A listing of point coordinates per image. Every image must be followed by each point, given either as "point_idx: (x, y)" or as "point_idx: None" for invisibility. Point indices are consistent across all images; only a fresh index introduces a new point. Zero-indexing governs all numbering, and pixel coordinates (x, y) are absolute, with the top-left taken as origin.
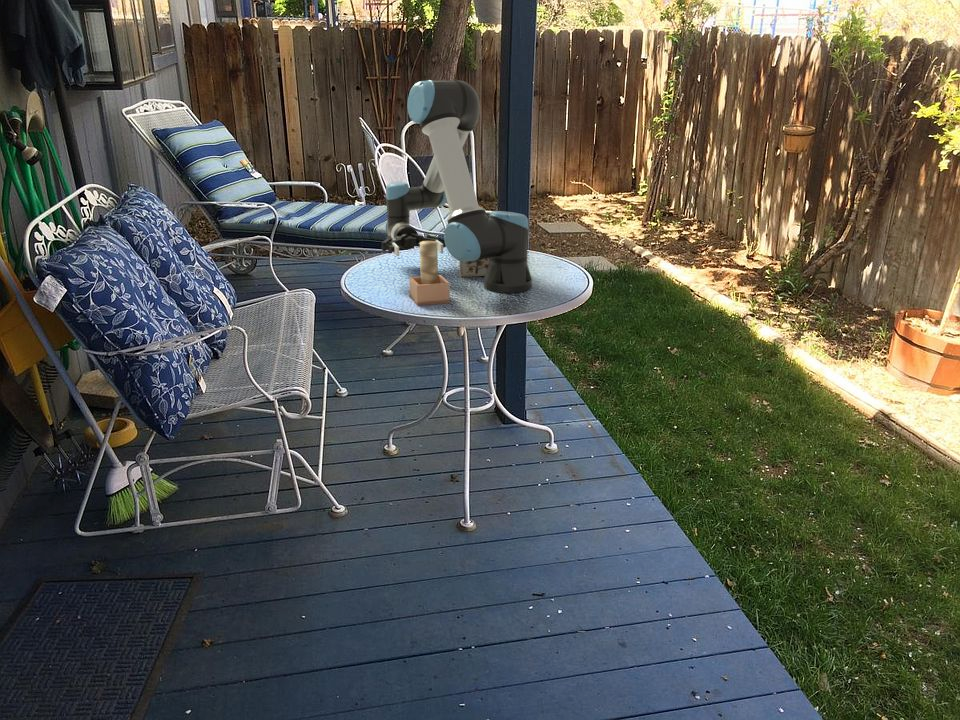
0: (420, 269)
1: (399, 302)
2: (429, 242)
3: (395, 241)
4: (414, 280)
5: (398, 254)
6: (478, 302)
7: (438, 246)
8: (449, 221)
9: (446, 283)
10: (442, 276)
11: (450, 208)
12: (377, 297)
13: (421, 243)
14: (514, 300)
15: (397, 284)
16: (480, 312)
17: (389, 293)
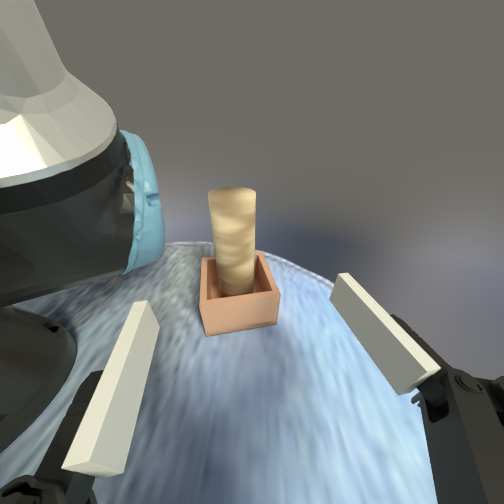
0: (254, 252)
1: (291, 295)
2: (228, 193)
3: (470, 449)
4: (267, 273)
5: (333, 294)
6: (158, 285)
7: (140, 355)
8: (119, 137)
9: (207, 257)
10: (200, 293)
11: (49, 47)
12: (345, 326)
13: (251, 191)
14: (92, 288)
15: (345, 495)
16: (180, 253)
17: (330, 356)
